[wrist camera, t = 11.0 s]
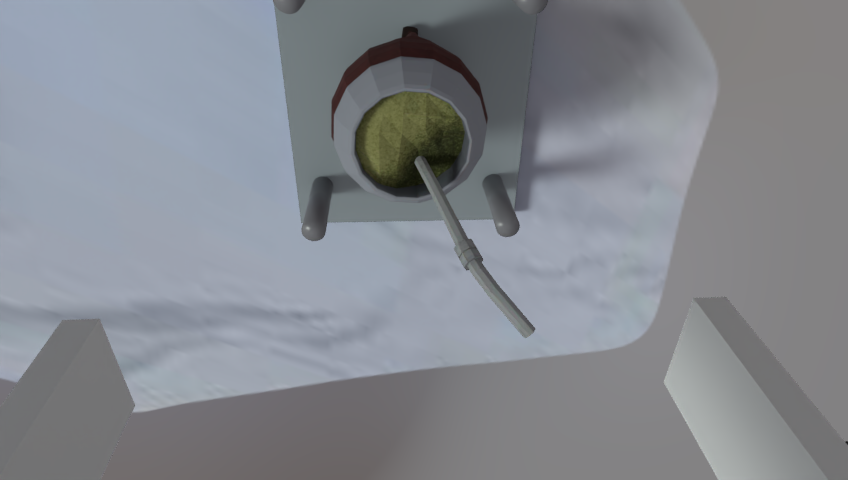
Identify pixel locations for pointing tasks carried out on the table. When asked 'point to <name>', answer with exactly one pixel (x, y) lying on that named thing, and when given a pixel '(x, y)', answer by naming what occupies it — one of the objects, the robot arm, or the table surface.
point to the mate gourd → (416, 136)
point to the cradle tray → (380, 23)
